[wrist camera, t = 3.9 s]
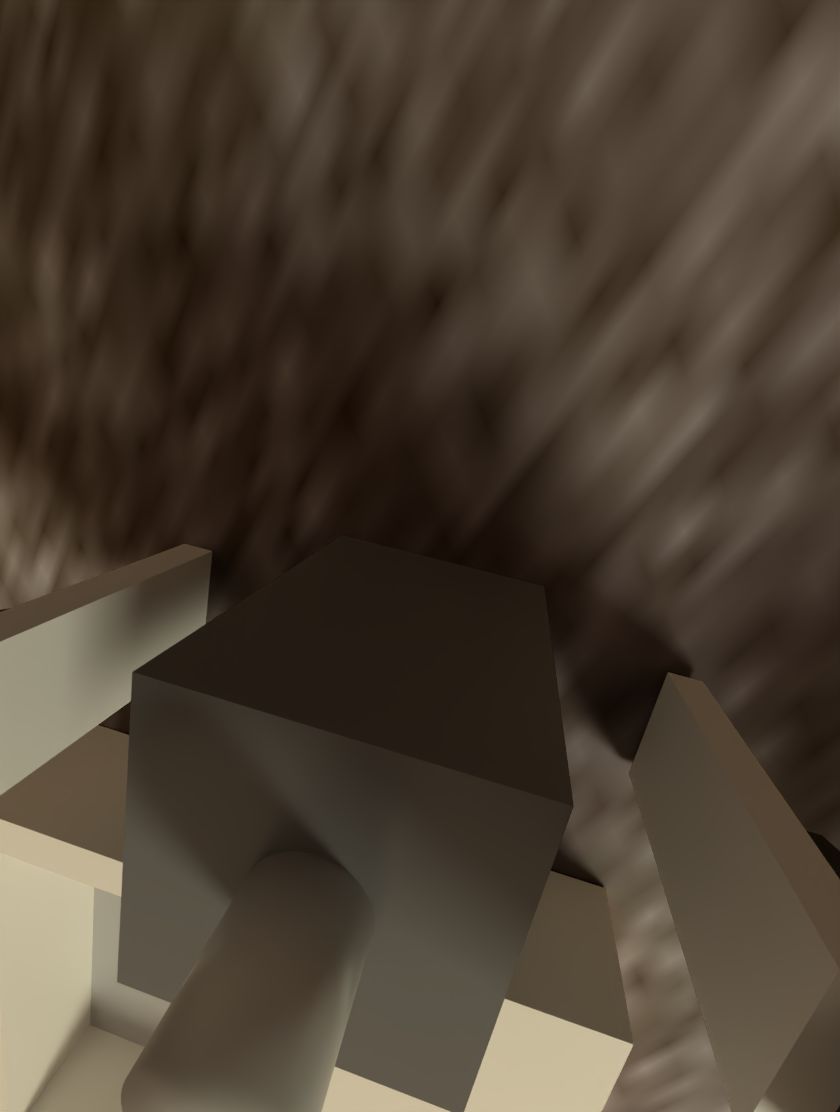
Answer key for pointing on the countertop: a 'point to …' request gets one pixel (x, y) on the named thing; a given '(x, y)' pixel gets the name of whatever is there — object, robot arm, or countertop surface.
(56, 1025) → the socket plate
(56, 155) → the countertop surface
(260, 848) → the plug
